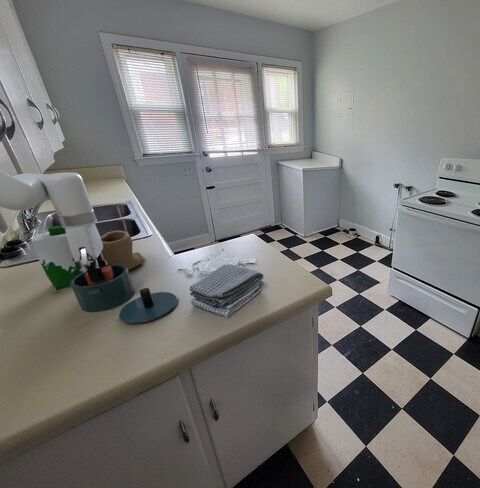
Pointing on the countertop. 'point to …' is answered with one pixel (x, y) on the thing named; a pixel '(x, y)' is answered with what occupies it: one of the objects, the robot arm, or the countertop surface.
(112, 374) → the countertop surface
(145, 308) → the lid
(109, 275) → the red block
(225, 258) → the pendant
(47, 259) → the milk carton
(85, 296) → the pot
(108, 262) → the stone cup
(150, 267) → the countertop surface
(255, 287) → the towel
